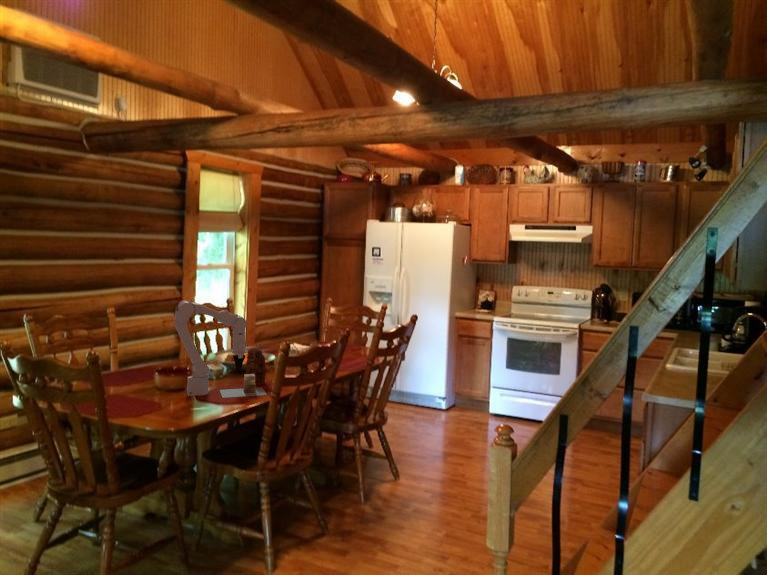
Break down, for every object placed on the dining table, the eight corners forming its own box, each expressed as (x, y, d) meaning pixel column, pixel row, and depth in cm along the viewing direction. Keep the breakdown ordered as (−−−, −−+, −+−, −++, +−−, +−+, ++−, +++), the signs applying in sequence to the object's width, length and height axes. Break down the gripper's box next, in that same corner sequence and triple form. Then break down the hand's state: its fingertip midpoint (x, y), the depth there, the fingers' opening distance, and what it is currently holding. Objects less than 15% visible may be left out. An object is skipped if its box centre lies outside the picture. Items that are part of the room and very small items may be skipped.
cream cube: (245, 385, 288) (245, 376, 287) (243, 382, 292) (244, 374, 292) (255, 384, 289) (255, 376, 289) (253, 382, 293) (253, 373, 293)
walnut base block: (244, 393, 288) (244, 385, 287) (243, 391, 292) (243, 382, 292) (255, 393, 290) (255, 384, 289) (254, 390, 294) (254, 382, 294)
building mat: (222, 399, 280) (222, 397, 280) (219, 391, 293) (219, 389, 293) (267, 396, 287) (267, 394, 287) (262, 389, 300) (262, 387, 300)
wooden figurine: (241, 383, 310) (241, 347, 308) (249, 381, 315) (249, 346, 314) (259, 386, 304) (260, 350, 302) (268, 384, 310) (268, 348, 308)
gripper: (249, 344, 286) (249, 373, 287) (245, 339, 300) (245, 366, 301) (234, 344, 284) (233, 374, 285) (230, 339, 297) (230, 367, 299)
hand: (238, 370), depth 293 cm, fingers closed
